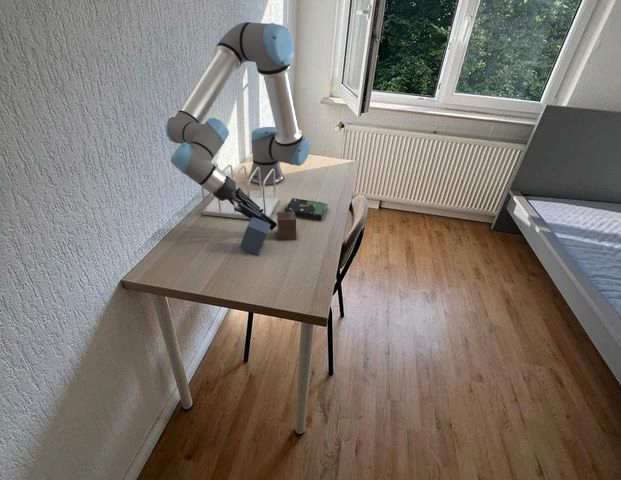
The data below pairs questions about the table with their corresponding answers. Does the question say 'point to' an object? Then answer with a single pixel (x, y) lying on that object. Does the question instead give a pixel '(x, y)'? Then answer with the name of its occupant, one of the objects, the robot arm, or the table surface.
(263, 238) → the slate-blue block
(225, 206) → the file sorter
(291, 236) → the walnut block
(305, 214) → the disk drive
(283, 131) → the robot arm
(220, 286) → the table surface
